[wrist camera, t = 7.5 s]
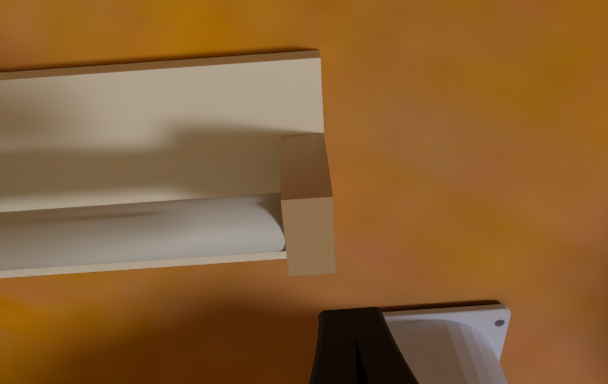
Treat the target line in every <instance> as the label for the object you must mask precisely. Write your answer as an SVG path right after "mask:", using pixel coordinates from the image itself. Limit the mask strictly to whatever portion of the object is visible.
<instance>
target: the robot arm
mask: <svg viewBox="0 0 608 384" xmlns="http://www.w3.org/2000/svg"><path fill="white" fill-rule="evenodd" d="M510 316H511V312H510V310H509V308H508V307H507V306H506V305H504V304H495V305H481V306H466V307H451V308H437V309H422V310H407V311H392V312H382V310H380V309H379V308H378V307H368V308H354V309H339V310H324V311H322V312H321V313H320V314H319V330H318V341H317V348H316V354H315V360H314V365H313V370H312V374H311V378H310V383H309V384H508V383H507V380H506V378H505V376H504V373H503V371H502V368H501V366H500V364H499V360H500V356H501V352H502V348H503V344H504V340H505V336H506V332H507V328H508V324H509V320H510Z"/></svg>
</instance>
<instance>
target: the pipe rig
mask: <svg viewBox="0 0 608 384" xmlns="http://www.w3.org/2000/svg"><path fill="white" fill-rule="evenodd" d="M286 258H287V264H288V274H289V277H290V276H305V275H319V274H334V273H335V245H334V217H333V195H332V188H331V181H330V174H329V167H328V160H327V153H326V146H325V139H324V128H323V105H322V82H321V59H320V52H319V50H311V51H297V52H283V53H269V54H255V55H241V56H227V57H213V58H199V59H185V60H171V61H157V62H143V63H129V64H115V65H100V66H86V67H72V68H58V69H44V70H30V71H16V72H2V73H0V278H9V277H24V276H38V275H53V274H67V273H82V272H97V271H111V270H126V269H140V268H155V267H169V266H184V265H199V264H213V263H228V262H242V261H257V260H271V259H286Z"/></svg>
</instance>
